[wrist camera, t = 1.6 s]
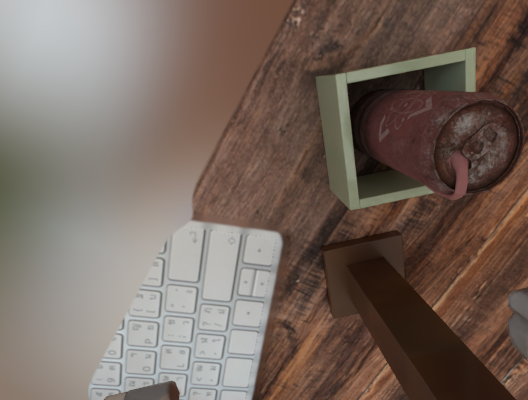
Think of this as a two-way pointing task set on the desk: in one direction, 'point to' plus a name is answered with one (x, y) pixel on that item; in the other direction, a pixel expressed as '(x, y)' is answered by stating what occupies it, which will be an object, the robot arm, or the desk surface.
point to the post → (404, 322)
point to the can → (440, 137)
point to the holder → (340, 133)
